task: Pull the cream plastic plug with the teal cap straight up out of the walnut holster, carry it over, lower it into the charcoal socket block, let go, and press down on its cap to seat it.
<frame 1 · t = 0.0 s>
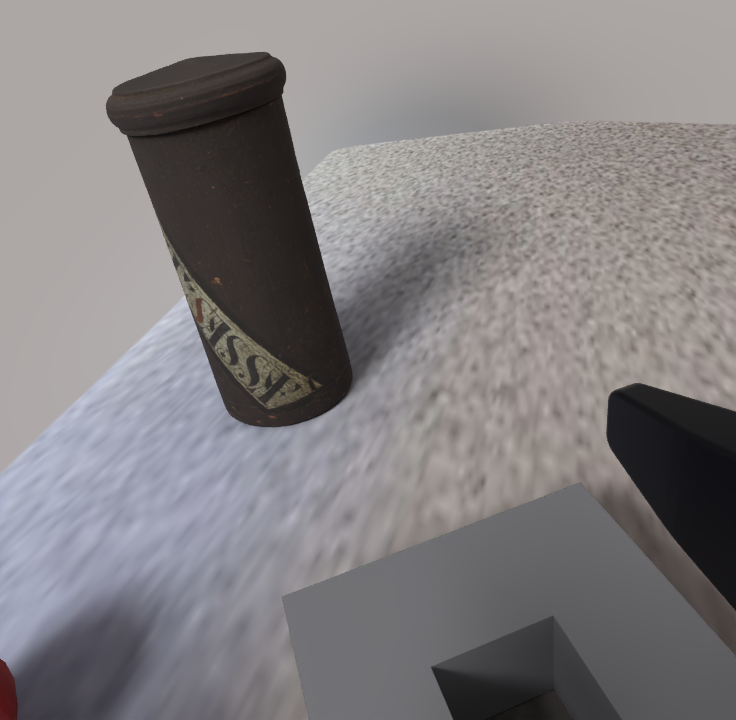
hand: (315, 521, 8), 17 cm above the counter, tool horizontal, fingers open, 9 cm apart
container: (291, 391, 40), on the counter
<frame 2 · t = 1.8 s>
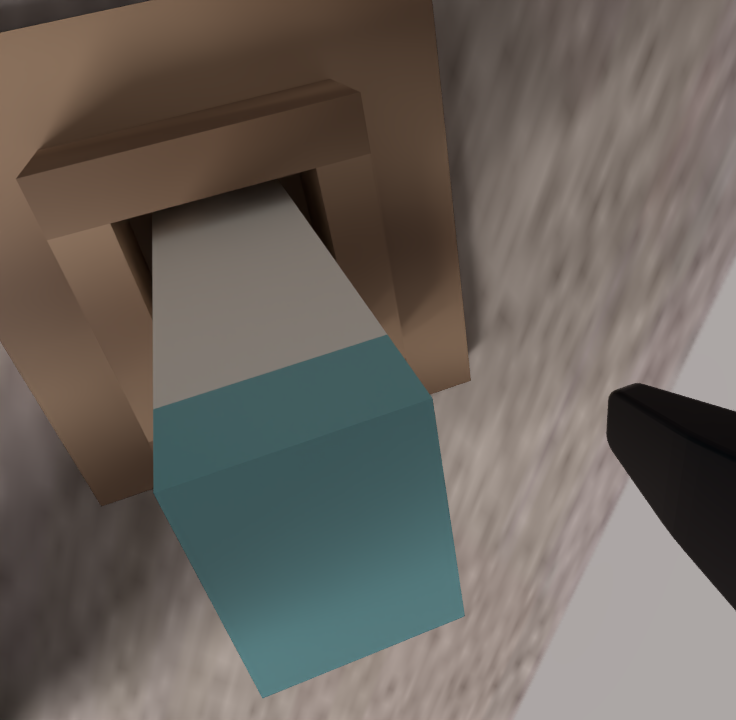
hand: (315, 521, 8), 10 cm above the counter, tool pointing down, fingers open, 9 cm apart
holster: (234, 253, 16), on the counter
plug: (238, 267, 16), point 1 cm above the counter, touching holster
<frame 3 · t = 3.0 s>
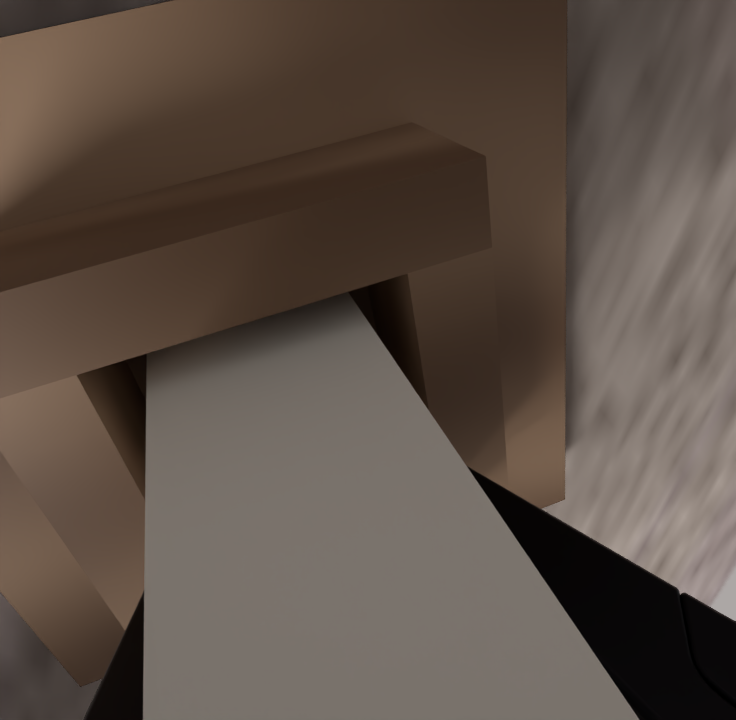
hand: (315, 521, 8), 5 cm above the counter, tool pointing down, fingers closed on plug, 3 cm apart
holster: (262, 357, 12), on the counter
plug: (271, 384, 11), point 1 cm above the counter, touching gripper, holster
when the fingers open (5 cm above the counter, at t = 7.7 s): plug drops 2 cm, resting in socket block.
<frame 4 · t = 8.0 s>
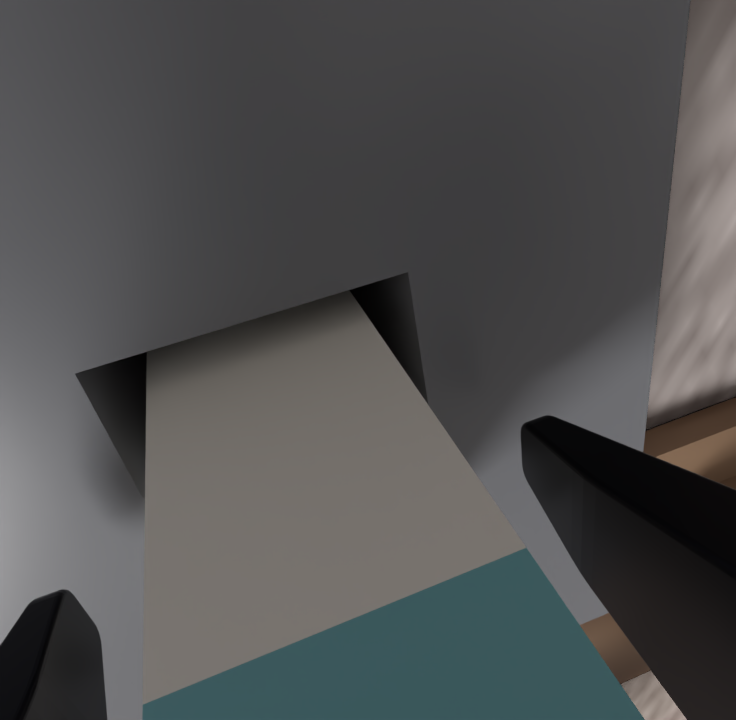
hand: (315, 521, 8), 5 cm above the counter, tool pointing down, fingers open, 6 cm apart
holster: (705, 529, 22), on the counter
socket block: (255, 333, 13), on the counter
plug: (257, 331, 13), resting in socket block
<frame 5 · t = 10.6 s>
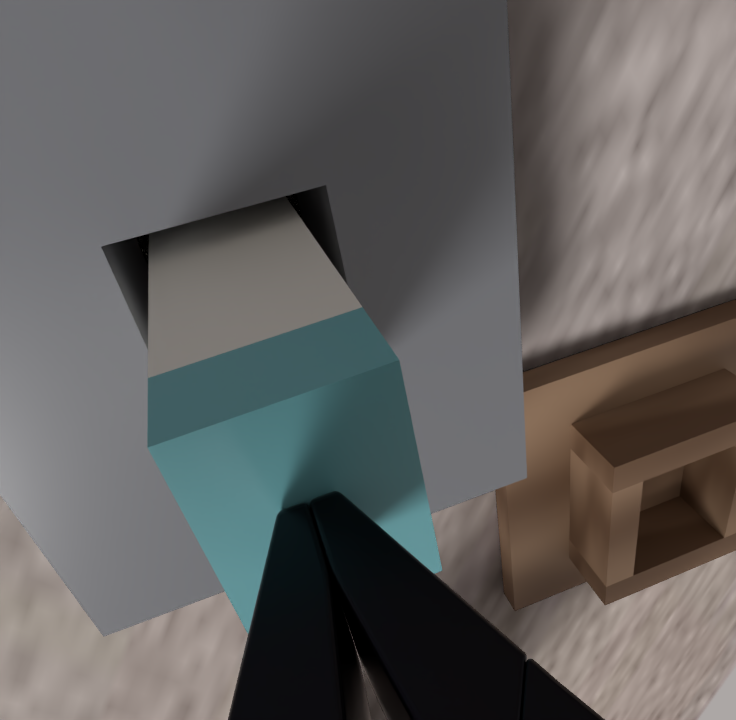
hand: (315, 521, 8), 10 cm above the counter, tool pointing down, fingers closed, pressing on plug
holster: (626, 453, 25), on the counter
socket block: (231, 258, 16), on the counter
plug: (233, 257, 16), resting in socket block, touching gripper
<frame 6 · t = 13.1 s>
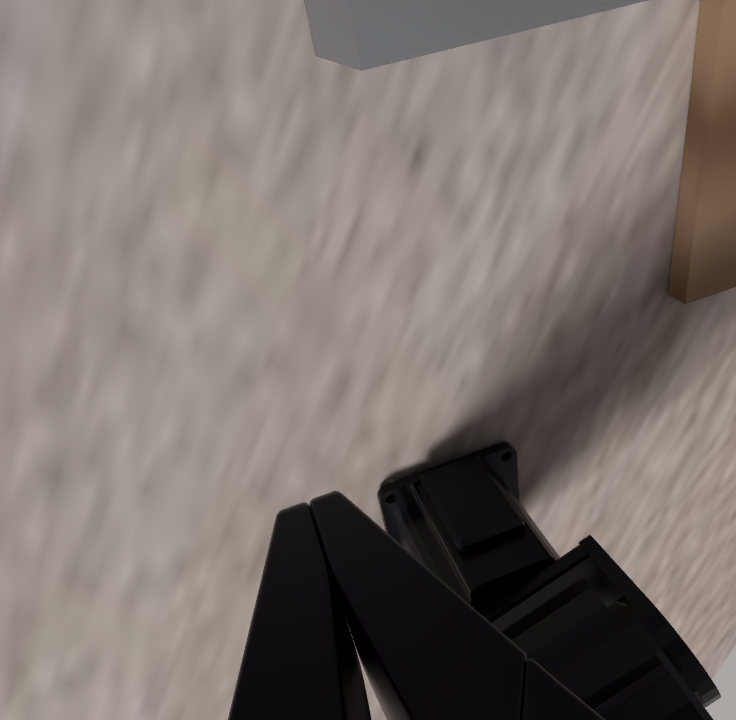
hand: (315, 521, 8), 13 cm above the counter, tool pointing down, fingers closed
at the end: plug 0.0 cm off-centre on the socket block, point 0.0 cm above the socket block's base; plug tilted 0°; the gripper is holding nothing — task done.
